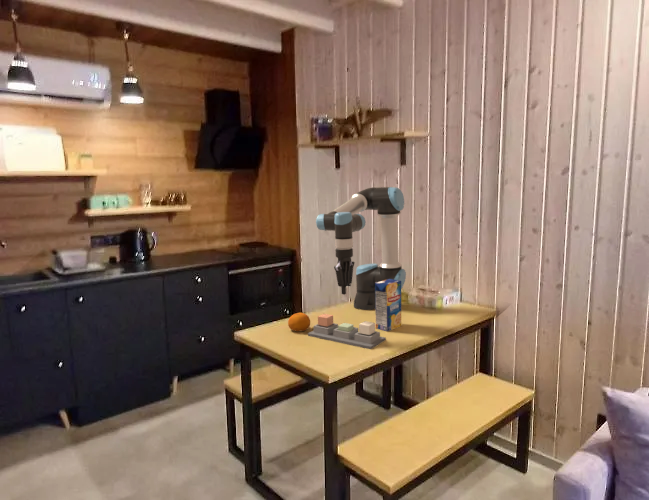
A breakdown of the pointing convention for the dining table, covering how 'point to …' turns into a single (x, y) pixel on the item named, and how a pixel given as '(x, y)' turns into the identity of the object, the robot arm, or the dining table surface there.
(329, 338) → the button board
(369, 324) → the button ivory
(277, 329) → the dining table surface
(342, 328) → the button sage
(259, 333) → the dining table surface
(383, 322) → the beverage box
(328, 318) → the button terracotta
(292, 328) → the fruit
